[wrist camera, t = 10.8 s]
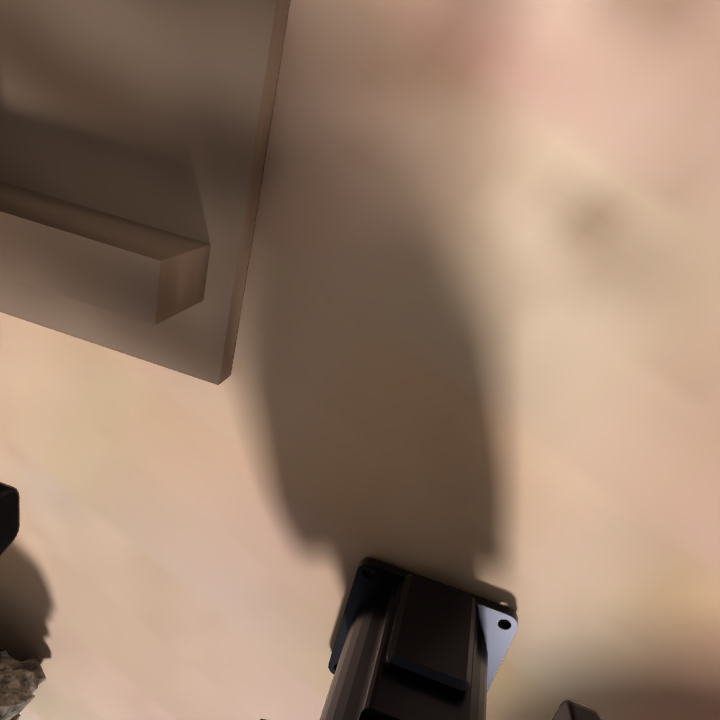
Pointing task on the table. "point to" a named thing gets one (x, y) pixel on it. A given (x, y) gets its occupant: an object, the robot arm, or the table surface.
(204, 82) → the walnut rack
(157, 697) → the table surface
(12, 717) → the rock
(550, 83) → the table surface
